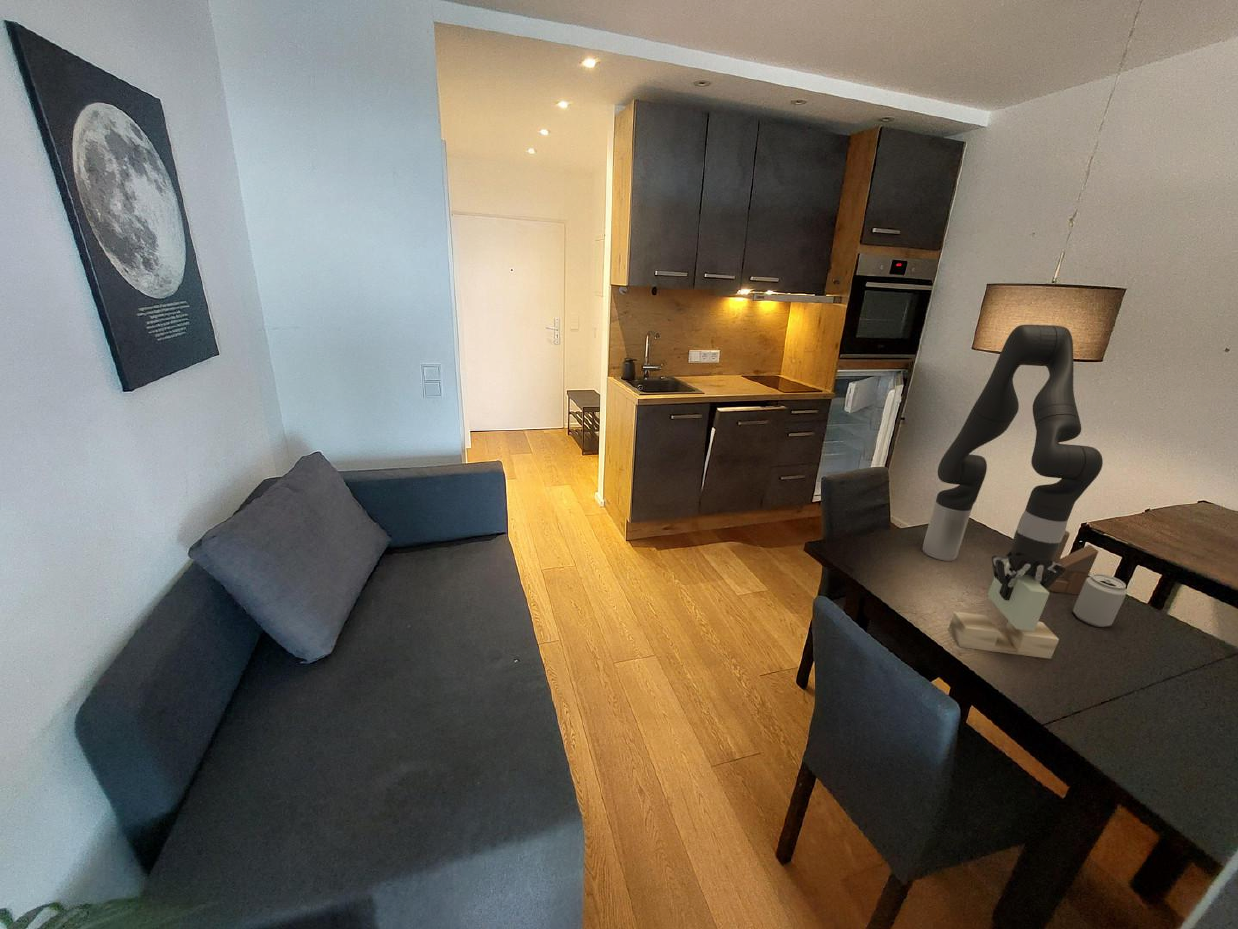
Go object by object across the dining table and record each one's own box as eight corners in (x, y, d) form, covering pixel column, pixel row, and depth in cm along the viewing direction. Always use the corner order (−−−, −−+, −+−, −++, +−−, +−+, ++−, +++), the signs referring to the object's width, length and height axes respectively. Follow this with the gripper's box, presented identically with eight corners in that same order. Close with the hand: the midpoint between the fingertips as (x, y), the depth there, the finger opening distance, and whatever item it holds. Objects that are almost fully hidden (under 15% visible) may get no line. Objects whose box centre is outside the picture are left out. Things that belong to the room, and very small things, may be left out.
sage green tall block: (987, 596, 116) (999, 560, 112) (1003, 598, 115) (1016, 562, 112) (1016, 629, 105) (1031, 591, 101) (1034, 631, 104) (1049, 593, 101)
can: (1071, 619, 122) (1088, 579, 118) (1071, 606, 128) (1088, 567, 123) (1111, 633, 118) (1131, 592, 113) (1110, 619, 123) (1129, 579, 118)
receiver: (948, 629, 118) (954, 611, 116) (1034, 640, 115) (1042, 622, 113) (959, 647, 112) (966, 628, 110) (1050, 658, 109) (1059, 639, 107)
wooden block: (1079, 595, 132) (1104, 538, 125) (1035, 589, 134) (1057, 533, 128) (1071, 587, 135) (1095, 532, 129) (1027, 582, 138) (1049, 527, 131)
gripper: (1064, 528, 105) (1038, 593, 111) (993, 521, 107) (971, 586, 114) (1089, 545, 98) (1060, 614, 104) (1012, 538, 101) (988, 605, 107)
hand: (1014, 599), depth 109 cm, fingers closed on sage green tall block, 3 cm apart
